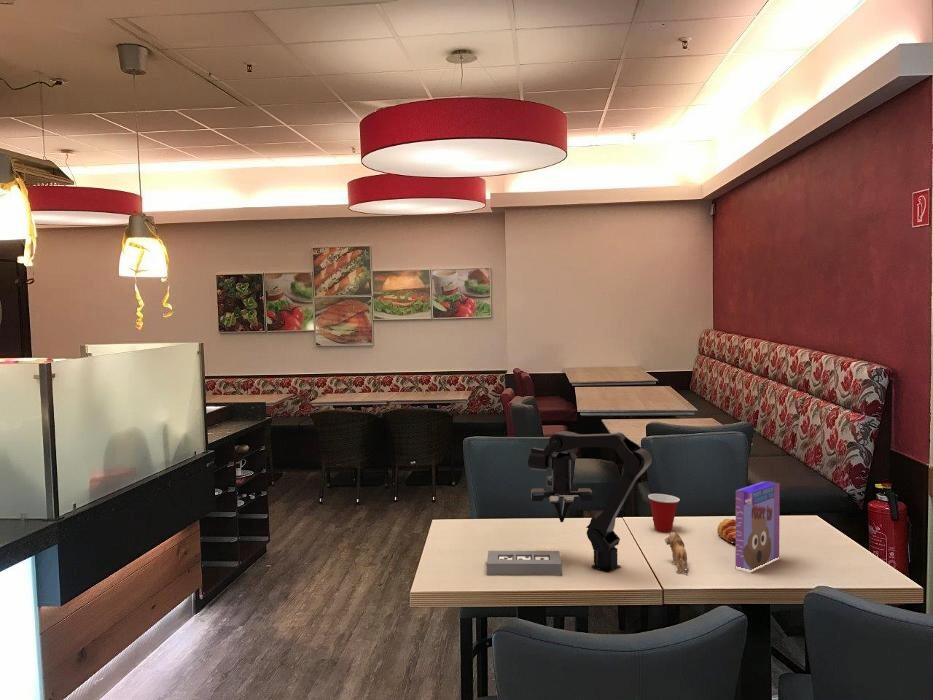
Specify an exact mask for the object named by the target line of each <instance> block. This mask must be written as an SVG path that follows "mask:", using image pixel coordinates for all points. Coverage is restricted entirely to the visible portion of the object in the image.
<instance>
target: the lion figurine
mask: <svg viewBox="0 0 933 700" xmlns="http://www.w3.org/2000/svg"><path fill="white" fill-rule="evenodd" d="M669 533H670V534H669V535H668V536H667V537H666V538H665V539H664V540H663V541H664V542H665V543H666V545H667V546H669V547H670V549H671V552H672V555H671V556H672V561H671V563H674V564H673V565H676V568H677V570H676V573H677V572H680V573H681V567H682V571H684V574H686V575H687V574H689V572H688V570H685V569H688V556H687V555H688V553H687V551H686V549H685V543H684V541H683V539H682V537H681V536H680V535H679V534H678V533H677V532H669ZM683 562H684V563H683ZM680 565H681V566H680Z"/></svg>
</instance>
